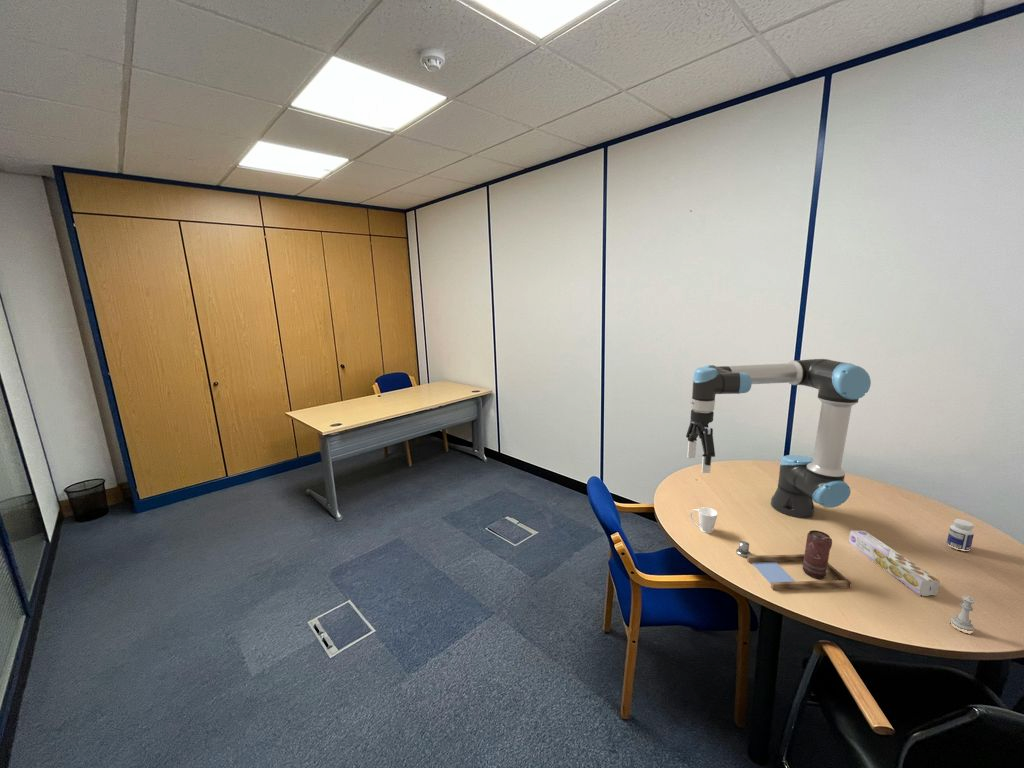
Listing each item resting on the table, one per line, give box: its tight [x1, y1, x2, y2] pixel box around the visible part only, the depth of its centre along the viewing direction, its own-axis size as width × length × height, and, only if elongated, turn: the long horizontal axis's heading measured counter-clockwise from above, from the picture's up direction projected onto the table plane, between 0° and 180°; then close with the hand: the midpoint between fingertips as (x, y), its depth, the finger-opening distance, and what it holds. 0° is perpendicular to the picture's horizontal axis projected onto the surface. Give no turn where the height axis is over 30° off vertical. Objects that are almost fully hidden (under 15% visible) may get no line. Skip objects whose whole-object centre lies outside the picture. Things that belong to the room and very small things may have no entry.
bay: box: [746, 553, 852, 591], centre depth 132 cm, size 24×14×2 cm, turn 90°
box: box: [848, 530, 941, 597], centre depth 134 cm, size 27×5×6 cm, turn 179°
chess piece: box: [950, 595, 976, 631], centre depth 109 cm, size 4×4×10 cm
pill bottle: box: [946, 518, 975, 550], centre depth 142 cm, size 6×6×10 cm
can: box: [802, 530, 833, 580], centre depth 131 cm, size 6×6×14 cm
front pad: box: [751, 562, 796, 585], centre depth 132 cm, size 8×11×1 cm
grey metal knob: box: [735, 540, 752, 559], centre depth 142 cm, size 4×4×4 cm
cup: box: [689, 506, 718, 534], centre depth 158 cm, size 7×10×8 cm
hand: (698, 464), depth 151 cm, fingers open, 13 cm apart
